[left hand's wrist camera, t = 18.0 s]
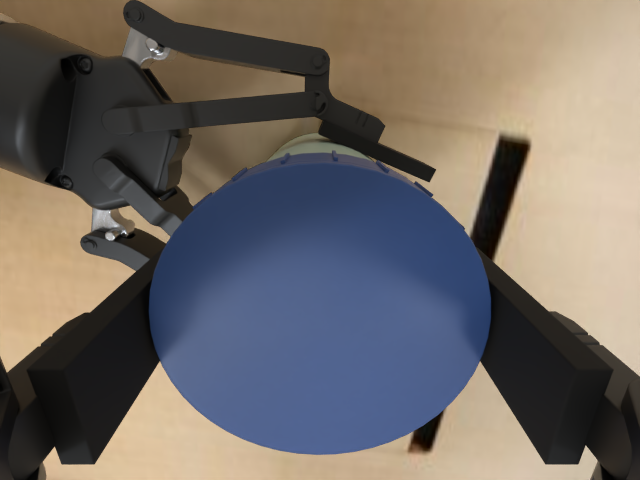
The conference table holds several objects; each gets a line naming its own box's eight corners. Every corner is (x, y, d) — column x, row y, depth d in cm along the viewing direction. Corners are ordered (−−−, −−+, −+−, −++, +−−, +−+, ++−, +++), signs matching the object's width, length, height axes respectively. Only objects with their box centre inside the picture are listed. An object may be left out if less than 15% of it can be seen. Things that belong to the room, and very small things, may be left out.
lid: (157, 374, 14) (128, 421, 12) (200, 105, 10) (170, 105, 8) (401, 429, 15) (414, 480, 13) (517, 202, 11) (560, 223, 9)
